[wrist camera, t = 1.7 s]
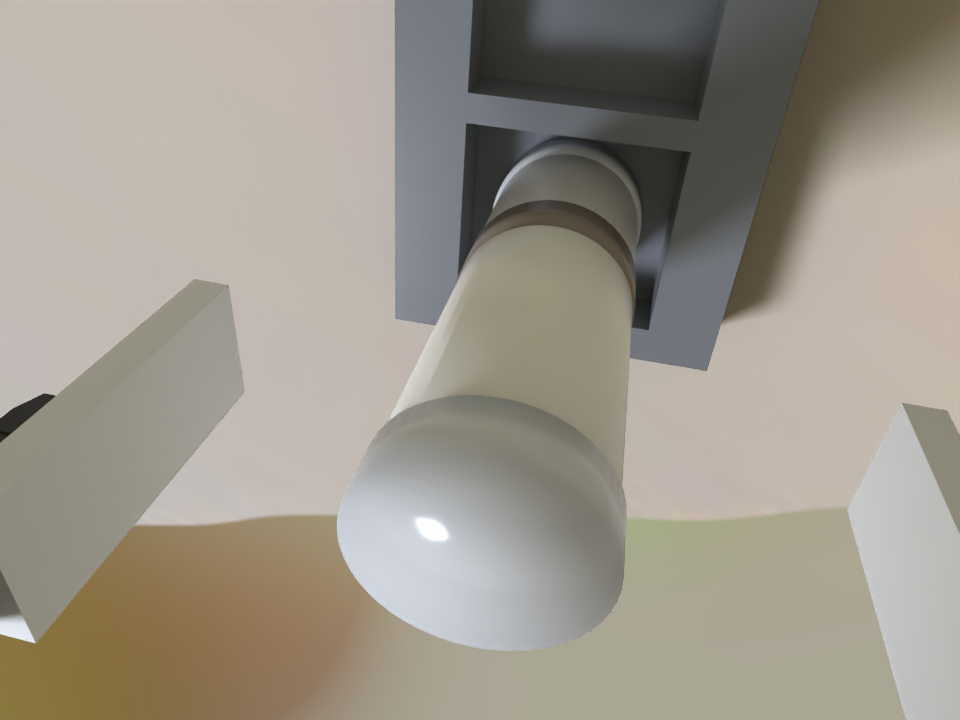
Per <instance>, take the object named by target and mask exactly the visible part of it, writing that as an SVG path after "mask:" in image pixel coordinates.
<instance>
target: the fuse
mask: <svg viewBox="0 0 960 720" xmlns="http://www.w3.org/2000/svg"><path fill="white" fill-rule="evenodd" d="M641 218H642V199H641V193H640V189H639V186H638V183H637V181H636V178H635V176H634V174H633V173H632V171H631V170H630V168H629V167H628V166H627V164H626V163H625V162H624V161H623V160H622V159H621V158H620V157H619V156H618V155H617V154H616V153H614V152H613V151H611V150H610V149H608V148H606V147H604V146H602V145H600V144H598V143H595V142H592V141H589V140H584V139H579V138H561V139H555V140H550V141H547V142H544V143H541V144H539V145H537V146H535V147H533V148H532V149H530V150H529V151H527V152H526V153H524V154H523V155H522V156H521V157H520V158H519V159H518V160H517V161H516V162H515V163H514V164H513V166H512V167H511V169H510V170H509V172H508V173H507V175H506V177H505V179H504V181H503V183H502V185H501V187H500V189H499V191H498V193H497V196H496V198H495V202H494V205H493V211H492V213H491V215H490V217H489V219H488V221H487V223H486V225H485V227H484V229H483V230H482V231H481V233H480V234H479V236H478V237H477V239H476V241H475V243H474V245H473V247H472V249H471V251H470V253H469V255H468V257H467V259H466V261H465V263H464V265H463V267H462V269H461V271H460V274H459V277H458V281H457V284H456V286H455V288H454V290H453V292H452V294H451V296H450V298H449V300H448V302H447V304H446V306H445V308H444V310H443V312H442V314H441V316H440V318H439V320H438V322H437V324H436V326H435V328H434V330H433V332H432V334H431V336H430V338H429V340H428V342H427V344H426V346H425V348H424V350H423V352H422V354H421V356H420V358H419V361H418V363H417V365H416V367H415V369H414V371H413V373H412V375H411V377H410V379H409V381H408V383H407V385H406V387H405V389H404V391H403V393H402V395H401V397H400V399H399V401H398V403H397V405H396V407H395V409H394V411H393V413H392V415H391V417H390V419H389V421H388V422H387V423H386V424H385V425H384V426H383V427H382V428H381V429H380V430H379V431H378V433H377V434H376V436H375V437H374V439H373V440H372V442H371V444H370V446H369V448H368V450H367V452H366V454H365V455H364V457H363V459H362V461H361V463H360V465H359V467H358V469H357V471H356V473H355V475H354V477H353V479H352V481H351V483H350V485H349V487H348V489H347V491H346V493H345V495H344V497H343V500H342V502H341V504H340V507H339V512H338V517H337V534H338V541H339V545H340V548H341V551H342V554H343V557H344V559H345V561H346V562H347V565H348V567H349V569H350V570H351V572H352V573H353V575H354V576H355V578H356V579H357V581H358V582H359V583H360V584H361V585H362V586H363V588H364V589H365V590H366V591H367V592H368V593H369V594H370V595H371V596H372V597H373V598H374V599H375V600H376V601H377V602H378V603H380V604H381V605H382V606H384V607H385V608H386V609H387V610H389V611H390V612H391V613H393V614H395V615H396V616H398V617H399V618H400V619H402V620H404V621H405V622H407V623H409V624H411V625H413V626H414V627H416V628H418V629H420V630H423V631H425V632H427V633H430V634H432V635H434V636H437V637H440V638H442V639H445V640H448V641H451V642H455V643H458V644H462V645H466V646H471V647H476V648H481V649H489V650H498V651H524V650H525V651H526V650H537V649H542V648H549V647H553V646H556V645H560V644H563V643H566V642H569V641H571V640H574V639H576V638H579V637H580V636H582V635H584V634H586V633H587V632H589V631H591V630H592V629H593V628H595V627H596V626H597V625H599V623H601V622H602V621H603V620H604V619H605V618H606V617H607V616H608V614H609V613H610V612H611V610H612V609H613V607H614V606H615V604H616V603H617V600H618V598H619V595H620V593H621V590H622V584H623V579H624V561H625V540H626V521H627V509H626V500H625V495H624V490H623V488H622V479H623V462H624V446H625V429H626V412H627V395H628V378H629V362H630V345H631V328H632V324H633V320H634V313H635V297H636V270H635V261H636V246H637V244H638V240H639V237H640V231H641Z"/></svg>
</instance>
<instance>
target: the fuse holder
mask: <svg viewBox="0 0 960 720" xmlns="http://www.w3.org/2000/svg"><path fill="white" fill-rule="evenodd" d="M818 3H819V0H395V319H400V320H406V321H412V322H418V323H424V324H430V325H436V324H437V322H438V320H439V318H440V316H441V314H442V312H443V310H444V308H445V306H446V304H447V302H448V300H449V298H450V296H451V294H452V292H453V290H454V288H455V286H456V284H457V281H458V277H459V274H460V271H461V269H462V267H463V265H464V263H465V261H466V259H467V257H468V255H469V253H470V251H471V249H472V247H473V245H474V243H475V241H476V239H477V237H478V236H479V234H480V233H481V231H482V230H483V229H484V227H485V225H486V223H487V221H488V219H489V217H490V215H491V213H492V211H493V205H494V202H495V198H496V196H497V193H498V191H499V189H500V187H501V185H502V183H503V181H504V179H505V177H506V175H507V173H508V172H509V170H510V169H511V167H512V166H513V164H514V163H515V162H516V161H517V160H518V159H519V158H520V157H521V156H522V155H523V154H524V153H526V152H527V151H529V150H530V149H532V148H533V147H535V146H537V145H539V144H541V143H544V142H547V141H550V140H555V139H561V138H579V139H584V140H589V141H592V142H595V143H598V144H600V145H602V146H604V147H606V148H608V149H610V150H611V151H613V152H614V153H616V154H617V155H618V156H619V157H620V158H621V159H622V160H623V161H624V162H625V163H626V164H627V166H628V167H629V168H630V170H631V171H632V173H633V174H634V176H635V178H636V181H637V183H638V186H639V189H640V193H641V199H642V218H641V231H640V237H639V240H638V244H637V246H636V261H635V270H636V297H635V313H634V320H633V324H632V328H631V345H630V358H633V359H639V360H645V361H651V362H657V363H663V364H669V365H675V366H681V367H687V368H693V369H699V370H705V371H707V369H708V365H709V362H710V359H711V355H712V352H713V349H714V346H715V342H716V339H717V336H718V332H719V329H720V326H721V322H722V319H723V316H724V313H725V309H726V306H727V303H728V299H729V296H730V293H731V290H732V286H733V283H734V280H735V276H736V273H737V270H738V266H739V263H740V260H741V257H742V253H743V250H744V247H745V243H746V240H747V237H748V233H749V230H750V227H751V224H752V220H753V217H754V214H755V210H756V207H757V204H758V201H759V197H760V194H761V191H762V187H763V184H764V181H765V177H766V174H767V171H768V168H769V164H770V161H771V158H772V154H773V151H774V148H775V144H776V141H777V138H778V135H779V131H780V128H781V125H782V121H783V118H784V115H785V112H786V108H787V105H788V102H789V98H790V95H791V92H792V88H793V85H794V82H795V79H796V75H797V72H798V69H799V65H800V62H801V59H802V55H803V52H804V49H805V46H806V42H807V39H808V36H809V32H810V29H811V26H812V23H813V19H814V16H815V13H816V9H817V6H818Z"/></svg>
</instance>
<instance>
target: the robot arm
mask: <svg viewBox="0 0 960 720" xmlns="http://www.w3.org/2000/svg"><path fill="white" fill-rule="evenodd" d="M244 392H245V390H244V384H243V377H242V371H241V364H240V357H239V351H238V344H237V337H236V331H235V324H234V317H233V311H232V304H231V298H230V291H229V285H224V284H219V283H213V282H207V281H201V280H196V279H194V280H193V281H192V282H191V283H190V284H188V285H187V286H186V287H185V288H184V289H182V290H181V291H180V292H179V293H178V294H176V295H175V296H174V297H173V298H172V299H171V300H169V301H168V302H167V303H166V304H165V305H163V306H162V307H161V308H160V309H159V310H157V311H156V312H155V313H154V314H153V315H152V316H150V317H149V318H148V319H147V320H146V321H144V322H143V323H142V324H141V325H140V326H138V327H137V328H136V329H135V330H134V331H133V332H131V333H130V334H129V335H128V336H127V337H125V338H124V339H123V340H122V341H121V342H119V343H118V344H117V345H116V346H115V347H114V348H112V349H111V350H110V351H109V352H108V353H106V354H105V355H104V356H103V357H102V358H100V359H99V360H98V361H97V362H96V363H95V364H93V365H92V366H91V367H90V368H89V369H87V370H86V371H85V372H84V373H83V374H81V375H80V376H79V377H78V378H77V379H76V380H74V381H73V382H72V383H71V384H70V385H68V386H67V387H66V388H65V389H64V390H62V391H61V392H60V393H59V394H58V395H57V396H54V395H50V394H45V393H44V394H42V395H40V396H38V397H36V398H34V399H32V400H30V401H28V402H26V403H23V404H21V405H19V406H17V407H15V408H13V409H12V410H10V411H9V412H8V413H7V414H5V415H4V416H3V417H2V418H0V634H2V635H6V636H10V637H14V638H18V639H21V640H25V641H29V642H33V643H36V642H37V641H38V640H39V639H40V638H41V636H42V635H43V634H44V633H45V632H46V630H47V629H48V628H49V627H50V625H51V624H52V623H53V622H54V621H55V619H56V618H57V617H58V616H59V615H60V614H61V612H62V611H63V610H64V609H65V608H66V606H67V605H68V604H69V603H70V601H71V600H72V599H73V598H74V597H75V596H76V594H77V593H78V592H79V591H80V589H81V588H82V587H83V586H84V585H85V583H86V582H87V581H88V580H89V579H90V577H91V576H92V575H93V574H94V573H95V571H96V570H97V569H98V568H99V567H100V565H101V564H102V563H103V562H104V561H105V559H106V558H107V557H108V556H109V555H110V553H111V552H112V551H113V550H114V549H115V547H116V546H117V545H118V544H119V542H120V541H121V540H122V539H123V538H124V536H125V535H126V534H127V533H128V532H129V530H130V529H131V528H132V527H133V526H134V524H135V523H136V522H137V521H138V520H139V518H140V517H141V516H142V515H143V514H144V512H145V511H146V510H147V509H148V508H149V506H150V505H151V504H152V503H153V502H154V500H155V499H156V498H157V497H158V496H159V494H160V493H161V492H162V491H163V489H164V488H165V487H166V486H167V485H168V483H169V482H170V481H171V480H172V479H173V477H174V476H175V475H176V474H177V473H178V471H179V470H180V469H181V468H182V467H183V465H184V464H185V463H186V462H187V461H188V459H189V458H190V457H191V456H192V455H193V453H194V452H195V451H196V450H197V449H198V447H199V446H200V445H201V444H202V442H203V441H204V440H205V439H206V438H207V436H208V435H209V434H210V433H211V432H212V430H213V429H214V428H215V427H216V426H217V424H218V423H219V422H220V421H221V420H222V418H223V417H224V416H225V415H226V414H227V412H228V411H229V410H230V409H231V408H232V406H233V405H234V404H235V403H236V402H237V400H238V399H239V398H240V397H241V395H242V394H243V393H244ZM847 511H848V515H849V518H850V522H851V525H852V529H853V533H854V536H855V540H856V543H857V547H858V550H859V554H860V558H861V561H862V564H863V568H864V572H865V576H866V579H867V583H868V586H869V590H870V593H871V597H872V601H873V604H874V608H875V611H876V615H877V618H878V622H879V625H880V629H881V633H882V636H883V640H884V643H885V647H886V650H887V654H888V658H889V661H890V665H891V669H892V672H893V676H894V679H895V682H896V687H897V690H898V694H899V697H900V701H901V704H902V708H903V712H904V715H905V718H906V720H960V435H959V433H958V431H957V429H956V427H955V425H954V423H953V421H952V419H951V417H950V415H949V414H948V412H947V411H946V410H940V409H934V408H929V407H923V406H917V405H911V404H906V403H901V405H900V407H899V409H898V411H897V413H896V415H895V417H894V419H893V421H892V423H891V425H890V427H889V429H888V431H887V433H886V435H885V437H884V439H883V441H882V443H881V445H880V447H879V449H878V451H877V452H876V454H875V456H874V458H873V460H872V462H871V464H870V466H869V468H868V470H867V472H866V474H865V476H864V478H863V480H862V482H861V484H860V486H859V488H858V490H857V492H856V494H855V496H854V498H853V500H852V502H851V504H850V506H849V508H848V510H847Z"/></svg>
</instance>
